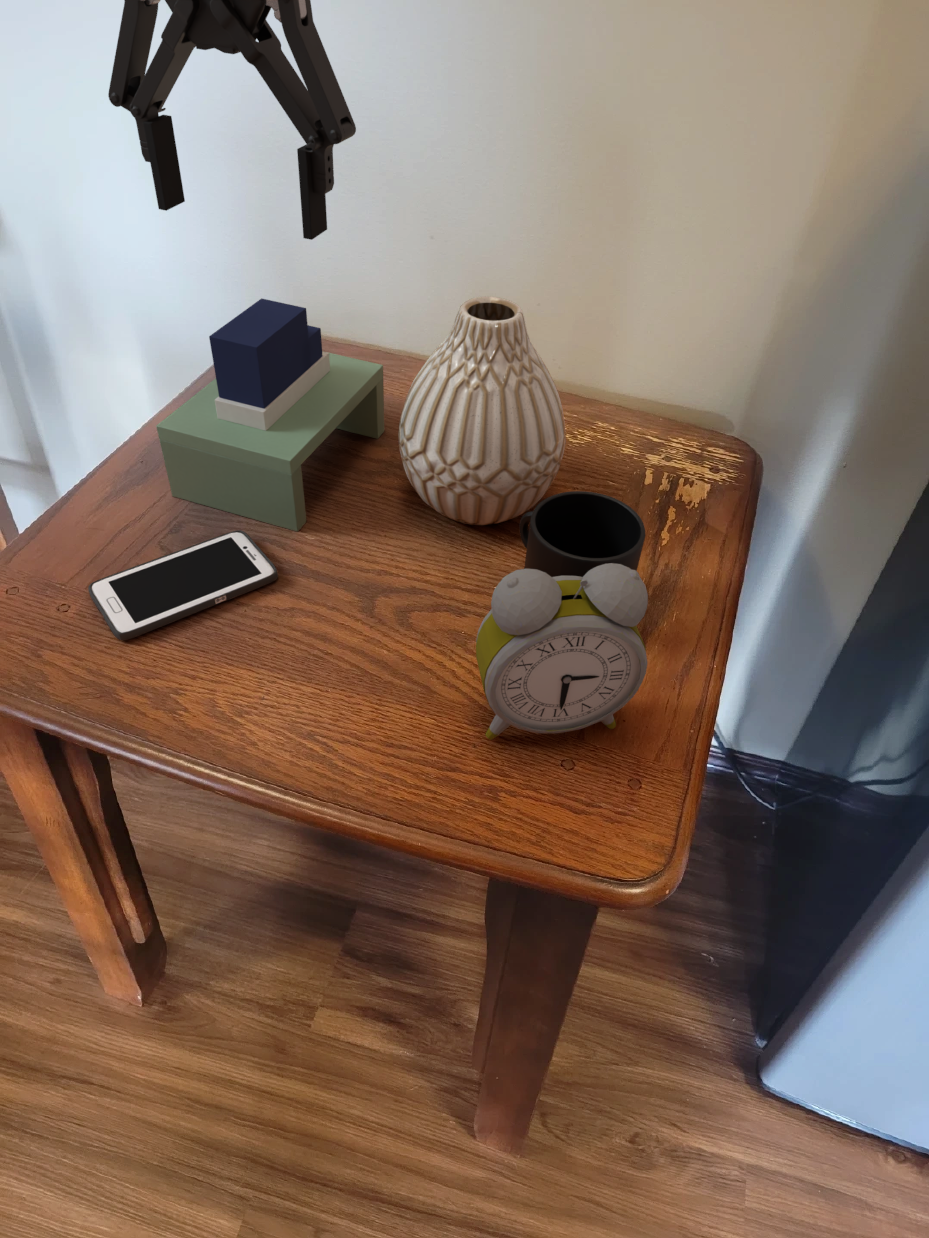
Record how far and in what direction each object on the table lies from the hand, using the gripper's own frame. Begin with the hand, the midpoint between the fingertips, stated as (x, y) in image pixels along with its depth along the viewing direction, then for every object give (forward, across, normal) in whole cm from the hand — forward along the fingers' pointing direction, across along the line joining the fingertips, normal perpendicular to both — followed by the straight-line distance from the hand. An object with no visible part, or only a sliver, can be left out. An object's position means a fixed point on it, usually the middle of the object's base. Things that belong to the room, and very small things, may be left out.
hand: (242, 220), depth 71 cm
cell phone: (+25, -2, +19) cm, 31 cm away
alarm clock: (+25, -36, +20) cm, 48 cm away
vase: (+25, -21, -4) cm, 33 cm away
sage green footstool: (+25, 0, -2) cm, 25 cm away
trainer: (+17, 0, -2) cm, 17 cm away
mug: (+25, -33, +7) cm, 42 cm away
